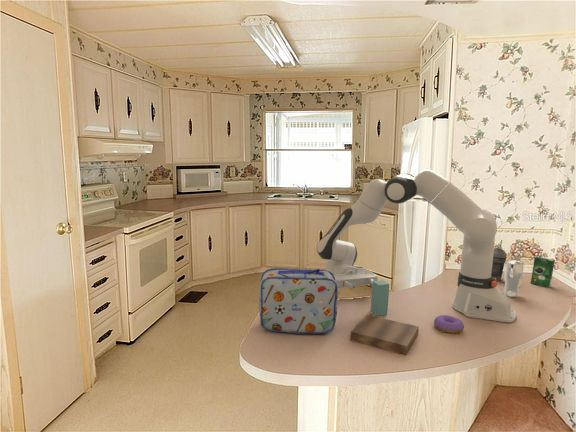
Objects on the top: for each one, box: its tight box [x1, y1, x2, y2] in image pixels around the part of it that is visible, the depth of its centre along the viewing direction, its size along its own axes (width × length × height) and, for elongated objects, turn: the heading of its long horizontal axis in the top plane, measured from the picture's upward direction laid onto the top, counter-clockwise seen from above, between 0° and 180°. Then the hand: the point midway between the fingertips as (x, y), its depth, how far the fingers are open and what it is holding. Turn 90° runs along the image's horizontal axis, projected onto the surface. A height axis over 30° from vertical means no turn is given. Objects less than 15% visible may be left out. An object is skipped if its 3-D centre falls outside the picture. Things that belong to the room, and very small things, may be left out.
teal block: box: [370, 279, 390, 317], centre depth 153 cm, size 4×4×12 cm
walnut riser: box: [350, 314, 420, 356], centre depth 133 cm, size 18×16×3 cm
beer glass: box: [502, 259, 524, 299], centre depth 175 cm, size 7×7×15 cm
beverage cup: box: [491, 239, 507, 282], centre depth 196 cm, size 7×7×20 cm
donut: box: [433, 314, 465, 335], centre depth 141 cm, size 10×9×5 cm
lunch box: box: [258, 267, 340, 335], centre depth 136 cm, size 28×10×22 cm, turn 91°
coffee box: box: [530, 256, 556, 288], centre depth 190 cm, size 8×3×13 cm, turn 43°
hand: (363, 285), depth 164 cm, fingers open, 8 cm apart
